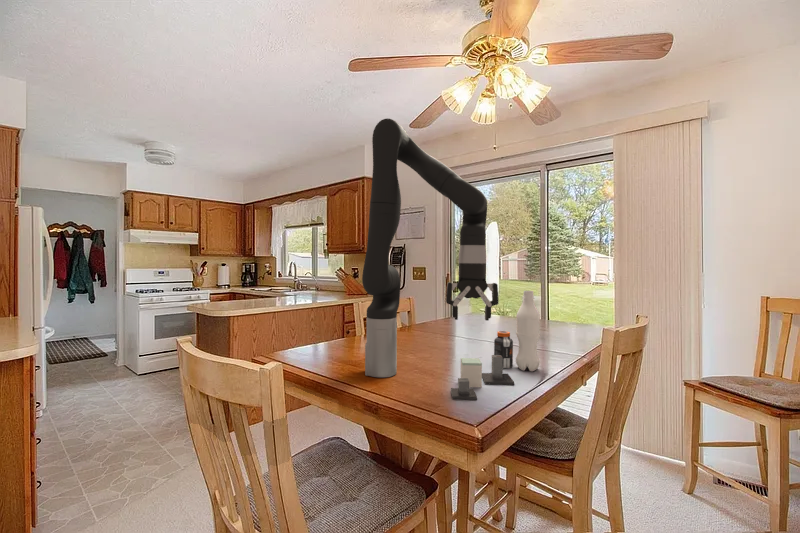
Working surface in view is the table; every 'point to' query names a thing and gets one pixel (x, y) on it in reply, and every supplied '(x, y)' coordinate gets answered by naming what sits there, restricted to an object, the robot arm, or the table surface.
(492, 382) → the tall post
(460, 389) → the short post
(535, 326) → the water bottle
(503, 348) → the pill bottle
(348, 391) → the table surface
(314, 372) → the table surface
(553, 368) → the table surface
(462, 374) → the cream upright block
